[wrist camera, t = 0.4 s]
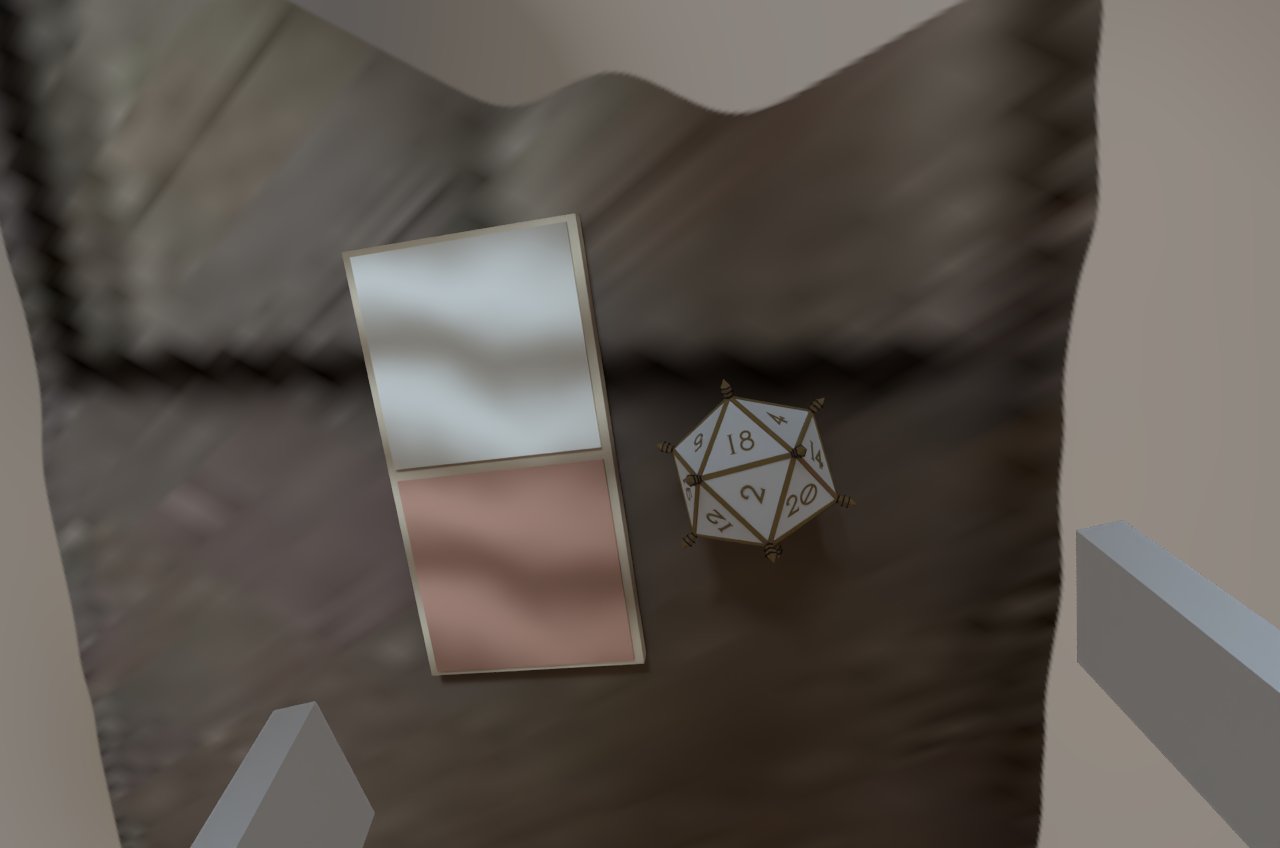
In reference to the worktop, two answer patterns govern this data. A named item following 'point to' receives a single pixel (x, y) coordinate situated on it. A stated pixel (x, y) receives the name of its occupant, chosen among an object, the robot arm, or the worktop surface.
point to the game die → (754, 472)
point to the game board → (500, 446)
